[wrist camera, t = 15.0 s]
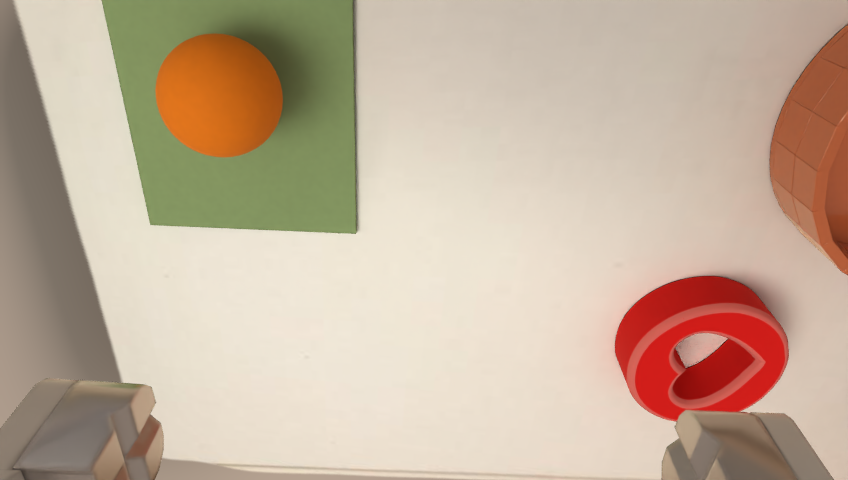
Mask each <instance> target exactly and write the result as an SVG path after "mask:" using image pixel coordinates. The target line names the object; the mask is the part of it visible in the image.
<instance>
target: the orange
mask: <svg viewBox="0 0 848 480" xmlns="http://www.w3.org/2000/svg"><path fill="white" fill-rule="evenodd" d="M155 91H156V102H157V106H158V109H159V113H160V115H161V117H162V120H163V121H164V123H165V125H166V126H167V128H168V129H169V130H170V132H171V133H172V134H173V135H174V136H175V137H176V138H177V139H178V140H179V141H180V142H181V143H183V144H184V145H186V146H187V147H189V148H190V149H192V150H194V151H196V152H199V153H201V154H205V155H208V156H214V157H234V156H239V155H243V154H246V153H248V152H250V151H252V150H254V149H256V148H257V147H259V146H260V145H262V144H263V143H264V142H265V141H266V140H267V139H268V138H269V137H270V135H271V134H272V133H273V132H274V130H275V128H276V126H277V124H278V122H279V119H280V116H281V112H282V104H283V95H282V88H281V84H280V81H279V78H278V75H277V73H276V71H275V69H274V68H273V66H272V64H271V63H270V62H269V60H268V59H267V58H266V57H265V56H264V55H263V54H262V53H261V52H260V51H259V50H258V49H257V48H256V47H254V46H253V45H251V44H249V43H248V42H246V41H244V40H242V39H240V38H237V37H234V36H231V35H226V34H203V35H198V36H195V37H193V38H190V39H188V40H186V41H184V42H182V43H180V44H179V45H178V46H177V47H175V48H174V49H173V50H172V51H171V52H170V53H169V54H168V55H167V57H166V58H165V60H164V61H163V63H162V65H161V67H160V70H159V72H158V76H157V80H156V89H155Z"/></svg>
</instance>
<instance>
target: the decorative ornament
mask: <svg viewBox="0 0 848 480" xmlns="http://www.w3.org/2000/svg"><path fill="white" fill-rule="evenodd" d="M698 333H713V334H717V335H721V336H724V337H727V338H729V339H728V340H727V341H726V342H725V343H724V344H723V345H722V346H721V347H720V348H718V349H717V350H716V351H715V352H714V353H713V354H711V355H710V356H709V357H707V358H706V359H705V360H703V361H701V362H700V363H698V364H696V365H694V366H692V367H689V368H685V366H684V364H683V362H682V360H681V358H680V356H679V355H678V353H677V351H676V349H675V347H676V346H677V345H678V343H679V342H681V341H682V340H683V339H685V338H687V337H689V336H691V335H694V334H698ZM615 353H616V357H617V360H618V362H619V365H620V367H621V370H622V372H623V375H624V377H625V380H626V383H627V385H628V388H629V390H630V393H631V395H632V396H633V398H634V399H635V400H636V401H637V403H638V404H639V405H640V406H642V407H643V408H644V409H645V410H647V411H648V412H650V413H652V414H654V415H656V416H658V417H660V418H663V419H666V420H671V421H676V422H677V420H678V417H679V415H680V414H682V413H683V412H684V411H685V410H704V411H731V412H740V411H742V410H744V409H746V408H748V407H750V406H752V405H753V404H755V403H756V402H758V401H759V400H760V399H762V398H763V397H764V396H765V395H766V394H767V393H768V392H769V391H770V390H771V389H772V388H773V387H774V386H775V384H776V383H777V382H778V380H779V379H780V377H781V376H782V374H783V372H784V370H785V368H786V365H787V362H788V357H789V349H788V340H787V336H786V334H785V332H784V330H783V328H782V327H781V325H780V324H779V323H778V321H777V320H776V319H775V317H774V316H773V315H772V314H771V312H770V311H769V310H768V309H767V307H766V306H765V305H764V304H763V302H762V301H761V300H760V299H759V297H758V296H757V295H756V294H755V293H754V292H753V291H752V290H751V289H749V288H748V287H746V286H745V285H743V284H741V283H739V282H736V281H734V280H731V279H727V278H723V277H716V276H701V277H692V278H687V279H682V280H679V281H675V282H672V283H669V284H667V285H664V286H662V287H660V288H658V289H656V290H654V291H652V292H651V293H649V294H648V295H646V296H645V297H643V298H642V299H641V300H639V301H638V302H637V303H636V304H635V305H634V306H633V307H632V308H631V309H630V310H629V311H628V312H627V314H626V315H625V317H624V318H623V320H622V322H621V324H620V326H619V328H618V331H617V335H616V341H615Z"/></svg>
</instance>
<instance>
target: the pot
mask: <svg viewBox="0 0 848 480" xmlns="http://www.w3.org/2000/svg"><path fill="white" fill-rule="evenodd" d="M770 177H771V182H772V186H773V191H774V194H775V196H776V199H777V201H778V203H779V206H780V207H781V209H782V210H783V212H784V213H785V215H786V216H787V218H788V219H789V220H790V221H791V222H792V223H793V224H794V225H795V226H796V228H797V229H798V230H799V231H800V233H801V234H802V235H803V236H804V237H805V238H806V239H808V240H809V241H810V242H811V243H812V244H813V245H814V246H815V247H816V248H817V249H818V250H819V251H820V252H821V253H822V254H823V255H824V256H826V257H827V258H828V259H829V260H830V261H831V262H832V263H833V264H834V265H835V266H836V267H837V268H838V269H839V270H840V271H842V272H843V273H845V274H847V275H848V25H847V26H845V27H844V28H843V29H842V30H841V31H839V32H838V33H837V34H836V35H835V36H834V37H833V38H832V39H831V40H830V41H829V42H828V43H827V44H826V45H825V46H824V47H823V48H822V49H821V50H820V51H819V53H818V54H817V55H816V56H815V58H814V59H813V60H812V61H811V62H810V64H809V65H808V66H807V67H806V69H805V70H804V72H803V73H802V75H801V76H800V78H799V79H798V81H797V82H796V84H795V85H794V87H793V88H792V90H791V92H790V94H789V96H788V98H787V100H786V102H785V104H784V106H783V108H782V110H781V113H780V116H779V118H778V121H777V123H776V126H775V131H774V135H773V139H772V143H771V152H770Z"/></svg>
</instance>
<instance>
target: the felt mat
mask: <svg viewBox="0 0 848 480" xmlns="http://www.w3.org/2000/svg"><path fill="white" fill-rule="evenodd" d="M102 4H103V8H104V13H105V17H106V22H107V27H108V31H109V36H110V40H111V45H112V50H113V54H114V59H115V64H116V68H117V73H118V77H119V82H120V87H121V91H122V96H123V100H124V105H125V110H126V114H127V119H128V123H129V128H130V133H131V137H132V142H133V146H134V151H135V156H136V160H137V165H138V170H139V174H140V179H141V183H142V188H143V193H144V197H145V202H146V206H147V211H148V216H149V220H150V225H164V226H187V227H211V228H234V229H257V230H281V231H304V232H327V233H351V234H356V231H357V229H356V164H355V100H354V35H353V0H102ZM203 34H226V35H231V36H234V37H237V38H240V39H242V40H244V41H246V42H248V43H249V44H251V45H253V46H254V47H256V48H257V49H258V50H259V51H260V52H261V53H262V54H263V55H264V56H265V57H266V58H267V59H268V60H269V62H270V63H271V64H272V66H273V68H274V69H275V71H276V73H277V75H278V78H279V81H280V84H281V88H282V95H283V104H282V112H281V116H280V119H279V122H278V124H277V126H276V128H275V130H274V132H273V133H272V134H271V135H270V137H269V138H268V139H267V140H266V141H265V142H264V143H263V144H262V145H260V146H259V147H257V148H256V149H254V150H252V151H250V152H248V153H246V154H243V155H239V156H234V157H214V156H208V155H205V154H201V153H199V152H196V151H194V150H192V149H190V148H189V147H187V146H186V145H184V144H183V143H181V142H180V141H179V140H178V139H177V138H176V137H175V136H174V135H173V134H172V133H171V132H170V130H169V129H168V128H167V126H166V125H165V123H164V121H163V120H162V117H161V115H160V113H159V109H158V106H157V102H156V91H155V89H156V80H157V76H158V72H159V70H160V67H161V65H162V63H163V61H164V60H165V58H166V57H167V55H168V54H169V53H170V52H171V51H172V50H173V49H174V48H175V47H177V46H178V45H179V44H180V43H182V42H184V41H186V40H188V39H190V38H193V37H195V36H198V35H203Z"/></svg>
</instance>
